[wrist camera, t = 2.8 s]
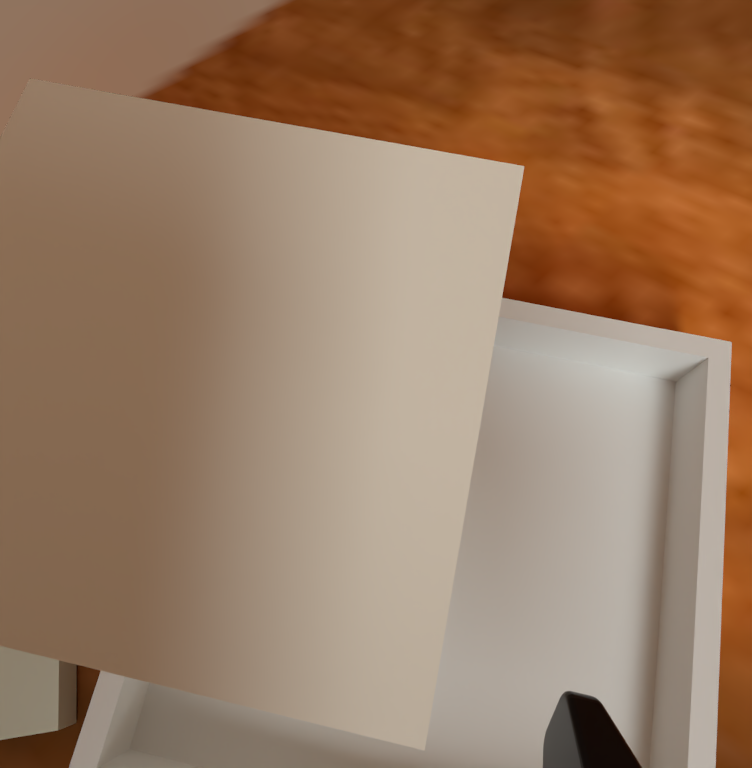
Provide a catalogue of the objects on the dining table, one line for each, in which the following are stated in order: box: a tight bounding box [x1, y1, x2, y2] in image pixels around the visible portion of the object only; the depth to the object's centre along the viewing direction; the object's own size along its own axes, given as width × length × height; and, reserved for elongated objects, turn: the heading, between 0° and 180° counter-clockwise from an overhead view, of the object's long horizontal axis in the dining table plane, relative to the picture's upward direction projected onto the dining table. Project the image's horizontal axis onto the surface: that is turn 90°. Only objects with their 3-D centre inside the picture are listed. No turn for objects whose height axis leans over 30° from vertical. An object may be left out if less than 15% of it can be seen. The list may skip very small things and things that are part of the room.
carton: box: [0, 78, 524, 751], centre depth 12 cm, size 5×5×13 cm
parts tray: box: [69, 298, 732, 768], centre depth 17 cm, size 14×14×2 cm
